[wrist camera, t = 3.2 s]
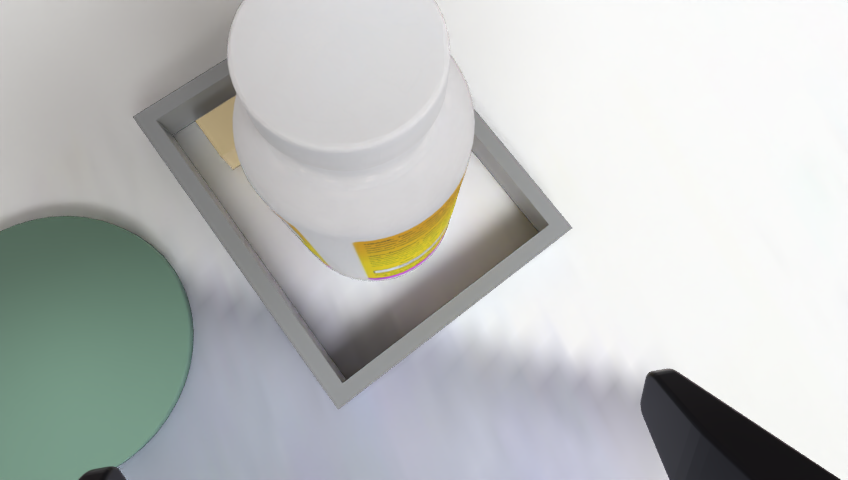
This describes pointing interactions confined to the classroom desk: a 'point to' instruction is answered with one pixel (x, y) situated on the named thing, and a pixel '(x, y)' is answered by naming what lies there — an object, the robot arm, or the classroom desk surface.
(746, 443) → the robot arm
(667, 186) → the classroom desk surface
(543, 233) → the tray
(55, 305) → the coaster
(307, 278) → the classroom desk surface
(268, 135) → the supplement bottle
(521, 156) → the classroom desk surface
